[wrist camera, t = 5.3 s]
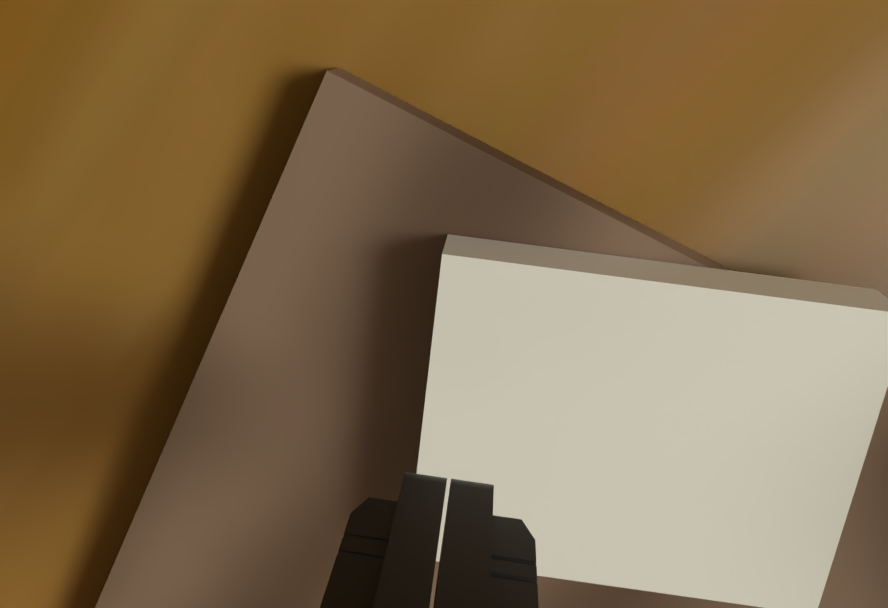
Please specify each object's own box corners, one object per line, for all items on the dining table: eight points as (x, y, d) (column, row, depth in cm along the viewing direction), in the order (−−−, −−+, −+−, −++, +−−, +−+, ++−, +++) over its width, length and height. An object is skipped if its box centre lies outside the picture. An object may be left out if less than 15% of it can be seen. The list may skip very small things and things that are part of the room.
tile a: (406, 556, 19) (816, 615, 18) (441, 253, 16) (910, 314, 16) (414, 515, 20) (791, 568, 20) (447, 233, 18) (874, 288, 17)
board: (71, 679, 24) (49, 712, 23) (337, 67, 18) (326, 70, 17) (704, 958, 26) (713, 1001, 25) (1143, 482, 20) (1181, 511, 19)
